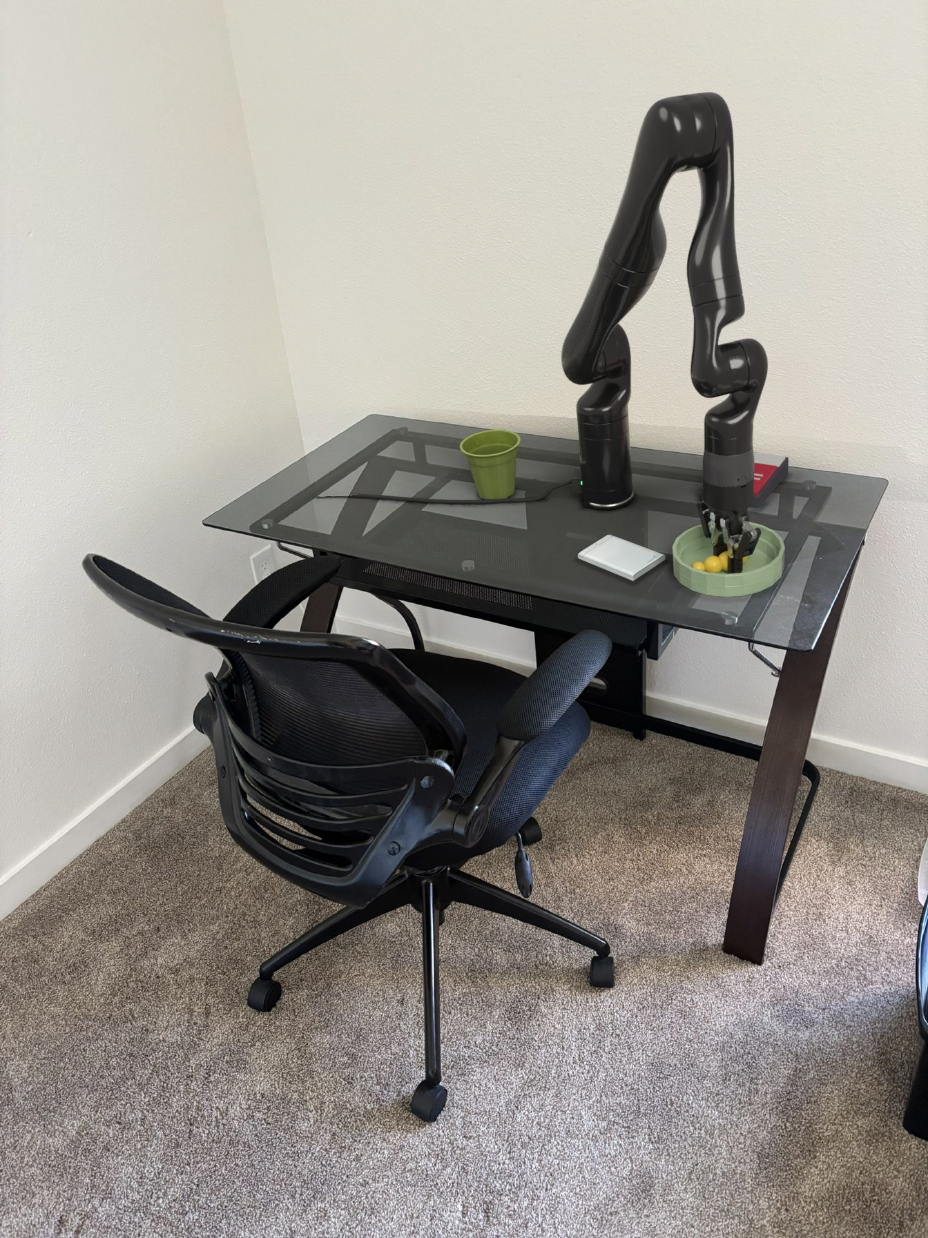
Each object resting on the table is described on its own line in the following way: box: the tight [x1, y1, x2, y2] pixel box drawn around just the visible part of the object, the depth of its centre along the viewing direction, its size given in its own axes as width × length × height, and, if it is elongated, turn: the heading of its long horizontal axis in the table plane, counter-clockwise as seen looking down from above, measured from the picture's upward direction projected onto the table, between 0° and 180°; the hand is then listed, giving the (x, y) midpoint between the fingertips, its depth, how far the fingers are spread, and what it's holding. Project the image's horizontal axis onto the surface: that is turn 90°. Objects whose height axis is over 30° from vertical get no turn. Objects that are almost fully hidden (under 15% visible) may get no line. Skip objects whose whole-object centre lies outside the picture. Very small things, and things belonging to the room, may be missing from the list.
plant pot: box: [459, 429, 522, 500], centre depth 185 cm, size 12×12×11 cm
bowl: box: [671, 521, 786, 598], centre depth 152 cm, size 17×17×4 cm
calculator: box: [700, 451, 790, 509], centre depth 174 cm, size 11×4×15 cm
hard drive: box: [577, 534, 666, 582], centre depth 160 cm, size 2×8×12 cm
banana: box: [691, 546, 748, 573], centre depth 152 cm, size 12×4×3 cm, turn 113°
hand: (727, 569), depth 152 cm, fingers closed on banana, 3 cm apart
